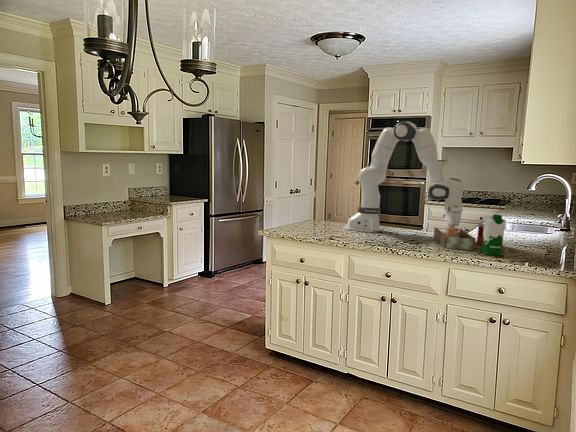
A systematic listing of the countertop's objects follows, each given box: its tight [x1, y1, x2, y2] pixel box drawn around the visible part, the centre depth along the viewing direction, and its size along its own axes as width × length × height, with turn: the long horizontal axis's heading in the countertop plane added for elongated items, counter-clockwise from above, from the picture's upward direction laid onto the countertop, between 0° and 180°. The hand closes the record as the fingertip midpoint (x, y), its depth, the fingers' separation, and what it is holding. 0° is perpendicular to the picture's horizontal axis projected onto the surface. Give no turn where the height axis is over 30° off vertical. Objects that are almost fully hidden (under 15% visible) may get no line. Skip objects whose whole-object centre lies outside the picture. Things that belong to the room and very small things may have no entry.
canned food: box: [476, 223, 484, 246], centre depth 239 cm, size 8×8×11 cm
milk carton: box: [480, 214, 507, 257], centre depth 216 cm, size 9×9×20 cm
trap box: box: [433, 226, 476, 251], centre depth 239 cm, size 15×28×6 cm, turn 172°
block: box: [445, 226, 459, 236], centre depth 242 cm, size 5×5×4 cm
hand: (450, 231), depth 247 cm, fingers closed
